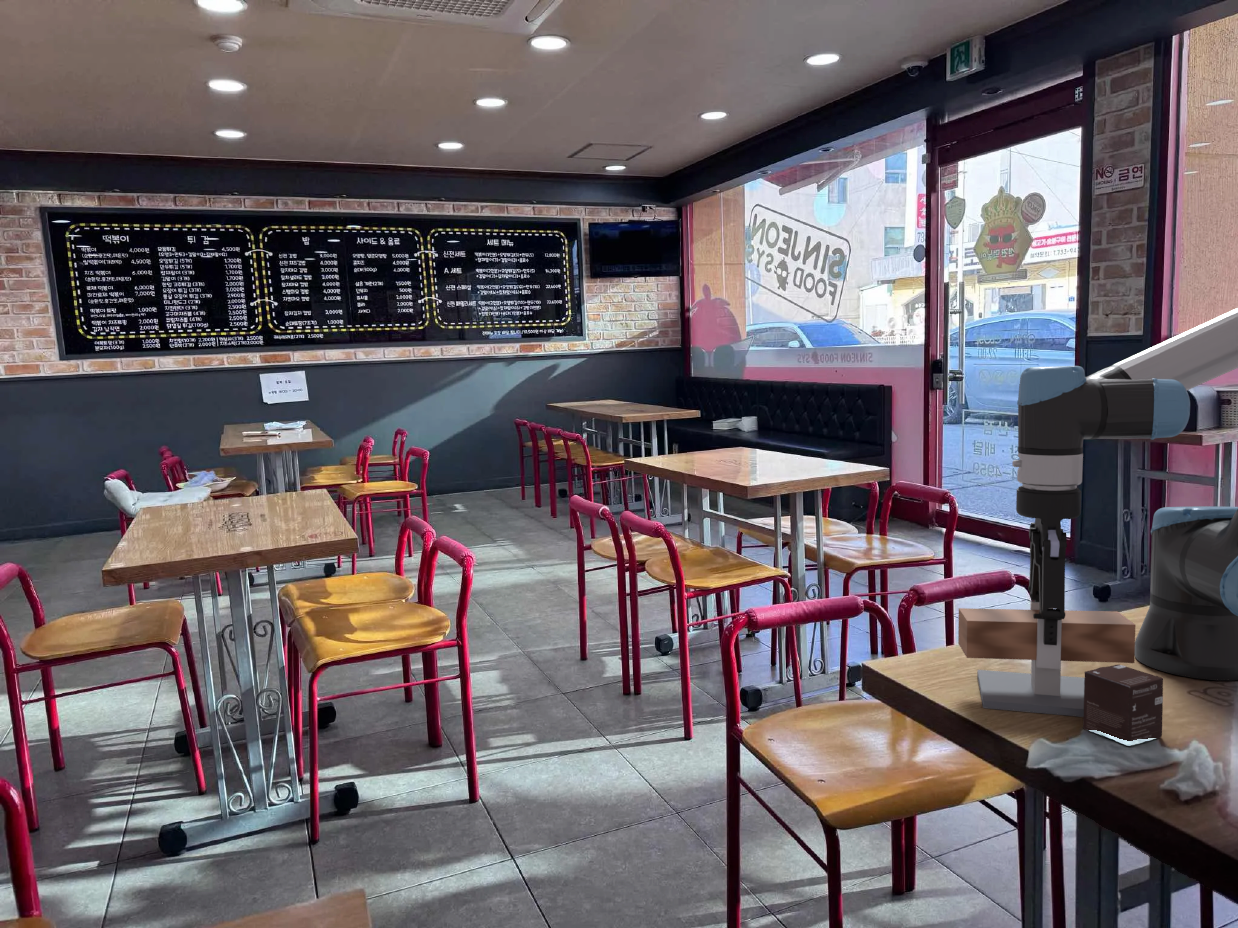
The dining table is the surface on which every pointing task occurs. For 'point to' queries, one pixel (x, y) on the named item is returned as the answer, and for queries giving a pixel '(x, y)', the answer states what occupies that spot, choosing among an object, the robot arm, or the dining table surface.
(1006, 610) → the cherry bar
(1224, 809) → the dining table surface
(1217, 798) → the dining table surface
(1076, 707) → the fulcrum
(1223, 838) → the dining table surface
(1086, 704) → the box
